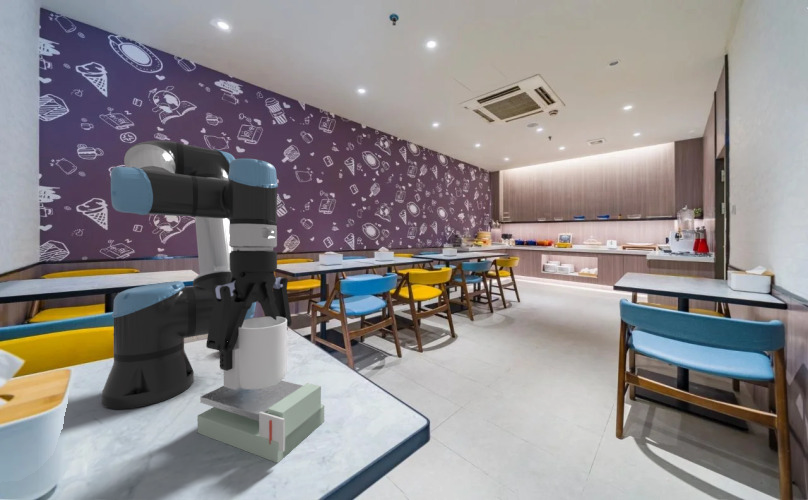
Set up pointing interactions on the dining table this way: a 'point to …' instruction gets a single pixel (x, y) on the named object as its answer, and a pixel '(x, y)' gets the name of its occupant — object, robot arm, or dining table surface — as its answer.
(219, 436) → the scale base
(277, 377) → the cup
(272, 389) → the speckled metal plate
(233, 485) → the dining table surface
